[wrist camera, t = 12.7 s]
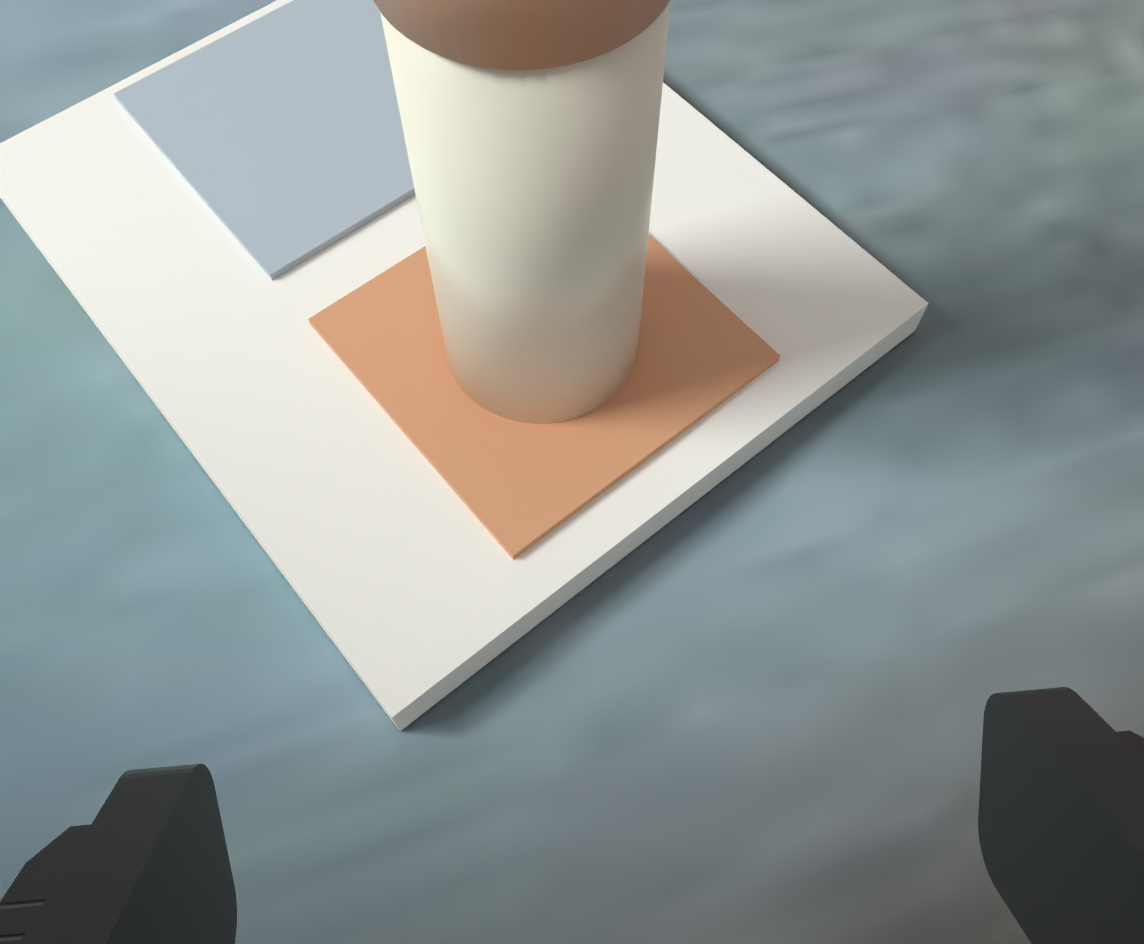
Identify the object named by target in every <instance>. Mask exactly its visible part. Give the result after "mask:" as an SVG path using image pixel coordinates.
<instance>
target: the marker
mask: <svg viewBox="0 0 1144 944" xmlns="http://www.w3.org/2000/svg"><path fill="white" fill-rule="evenodd" d="M373 1H374V3H375V4H376V6H377V7H378V9H379V11H380V13H381V19H382V24H383V29H384V34H385V39H386V44H387V50H388V55H389V60H390V65H391V70H392V76H393V81H394V86H395V91H396V96H397V101H398V107H399V112H400V117H401V122H402V127H403V132H404V138H405V143H406V148H407V153H408V158H409V164H410V169H411V174H412V179H413V184H414V189H415V195H416V200H417V205H418V210H419V215H420V221H421V226H422V231H423V236H424V241H425V246H426V252H427V257H428V262H429V267H430V272H431V277H432V283H433V288H434V293H435V298H436V303H437V309H438V314H439V319H440V324H441V329H442V334H443V340H444V345H445V350H446V355H447V360H448V364H449V367H450V369H451V372H452V374H453V376H454V378H455V380H456V381H457V383H458V385H459V386H460V387H461V388H462V390H463V391H464V392H465V393H466V394H467V395H468V396H469V397H470V398H471V399H472V400H473V401H474V402H476V403H477V404H478V405H480V406H481V407H483V408H484V409H486V410H488V411H490V412H492V413H493V414H496V415H498V416H501V417H503V418H506V419H510V420H514V421H517V422H524V423H532V424H548V423H558V422H563V421H568V420H571V419H575V418H578V417H581V416H583V415H585V414H587V413H590V412H592V411H594V410H595V409H597V408H599V407H600V406H602V405H603V404H605V403H606V402H607V401H608V400H610V399H611V398H612V397H613V396H614V395H615V394H616V393H617V392H618V391H619V390H620V389H621V388H622V386H623V385H624V383H625V382H626V380H627V379H628V377H629V375H630V373H631V371H632V369H633V366H634V363H635V360H636V356H637V350H638V341H639V330H640V320H641V309H642V298H643V288H644V277H645V266H646V256H647V245H648V235H649V224H650V213H651V203H652V192H653V182H654V171H655V160H656V150H657V139H658V128H659V118H660V107H661V97H662V86H663V75H664V65H665V54H666V44H667V33H668V22H669V12H670V1H671V0H373Z"/></svg>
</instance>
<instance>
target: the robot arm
mask: <svg viewBox="0 0 1144 944" xmlns="http://www.w3.org/2000/svg"><path fill="white" fill-rule="evenodd" d="M978 829H979V839H980V845H981V850H982V854H983V858H984V862H985V865H986V868H987V871H988V873H989V876H990V878H991V880H992V882H993V884H994V886H995V888H996V889H997V891H998V892H999V894H1000V895H1001V897H1002V899H1003V900H1004V902H1005V903H1006V905H1007V906H1008V908H1009V909H1010V911H1011V912H1012V914H1013V916H1014V917H1015V919H1016V920H1017V922H1018V923H1019V925H1020V926H1021V928H1022V930H1023V931H1024V933H1025V934H1026V936H1027V937H1028V939H1029V940H1030V942H1031V943H1032V944H1144V738H1143V737H1141V736H1139V735H1137V734H1135V733H1133V732H1131V731H1121V732H1115V731H1114V730H1113V729H1112V728H1111V727H1110V726H1109V725H1108V724H1107V723H1106V722H1105V721H1104V720H1103V719H1102V718H1101V717H1100V716H1099V715H1098V714H1097V713H1096V712H1095V711H1094V710H1093V709H1092V708H1091V707H1090V706H1089V705H1088V704H1087V703H1086V702H1085V701H1084V700H1083V699H1082V698H1081V697H1080V696H1079V695H1078V694H1077V693H1076V692H1074V691H1073V690H1072V689H1070V688H1066V687H1060V688H1049V689H1038V690H1027V691H1016V692H1005V693H996V694H993V695H991V696H990V698H989V699H988V701H987V703H986V707H985V711H984V723H983V742H982V760H981V779H980V797H979V816H978ZM236 925H237V904H236V893H235V887H234V882H233V877H232V872H231V867H230V862H229V857H228V852H227V847H226V842H225V837H224V832H223V827H222V822H221V817H220V812H219V807H218V802H217V797H216V792H215V787H214V783H213V779H212V776H211V773H210V771H209V769H208V768H207V767H206V766H205V765H204V764H192V765H181V766H170V767H160V768H149V769H138V770H129V771H126V772H125V773H124V774H123V775H122V776H121V777H120V779H119V780H118V782H117V783H116V785H115V787H114V788H113V790H112V792H111V793H110V795H109V797H108V798H107V800H106V802H105V803H104V805H103V806H102V808H101V810H100V811H99V813H98V815H97V816H96V818H95V820H94V821H93V823H92V825H81V826H71V827H69V828H68V829H67V830H66V831H64V832H63V833H62V834H61V835H60V836H58V837H57V838H56V839H55V840H53V841H52V842H51V843H50V844H49V845H47V846H46V847H45V848H44V849H42V850H41V851H40V852H39V853H38V854H36V855H35V856H34V857H33V858H32V859H30V860H29V861H28V862H27V863H26V864H25V865H24V867H23V868H22V870H21V871H20V873H19V874H18V876H17V877H16V879H15V880H14V882H13V883H12V885H11V886H10V888H9V889H8V891H7V892H6V894H5V895H4V897H3V898H2V900H1V901H0V944H235V937H236Z"/></svg>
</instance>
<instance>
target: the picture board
mask: <svg viewBox="0 0 1144 944" xmlns="http://www.w3.org/2000/svg"><path fill="white" fill-rule="evenodd" d="M0 198H1V199H2V201H3V202H4V203H5V205H6V206H7V207H8V209H9V210H10V211H11V213H12V214H13V215H14V217H15V218H16V219H17V221H18V222H19V223H20V225H21V226H22V227H23V229H24V230H25V231H26V233H27V234H28V235H29V237H30V238H31V239H32V241H33V242H34V243H35V245H36V246H37V247H38V249H39V250H40V251H41V253H42V254H43V255H44V257H45V258H46V259H47V261H48V262H49V263H50V265H51V266H52V267H53V269H54V270H55V272H56V273H57V274H58V276H59V277H60V278H61V280H62V281H63V282H64V284H65V285H66V286H67V288H68V289H69V290H70V292H71V293H72V294H73V296H74V297H75V298H76V300H77V301H78V302H79V304H80V305H81V306H82V308H83V309H84V310H85V312H86V313H87V314H88V316H89V317H90V318H91V320H92V321H93V322H94V324H95V325H96V326H97V328H98V329H99V330H100V332H101V333H102V334H103V336H104V337H105V338H106V340H107V341H108V342H109V344H110V345H111V346H112V348H113V349H114V350H115V352H116V353H117V354H118V356H119V357H120V358H121V360H122V361H123V362H124V364H125V365H126V366H127V368H128V369H129V370H130V372H131V373H132V374H133V376H134V377H135V378H136V380H137V381H138V382H139V384H140V385H141V386H142V388H143V389H144V390H145V392H146V393H147V394H148V396H149V397H150V398H151V400H152V401H153V402H154V404H155V405H156V406H157V408H158V409H159V410H160V412H161V413H162V414H163V416H164V417H165V418H166V420H167V421H168V422H169V424H170V425H171V426H172V428H173V429H174V430H175V432H176V433H177V434H178V436H179V437H180V438H181V440H182V441H183V442H184V444H185V445H186V446H187V448H188V449H189V450H190V452H191V453H192V454H193V456H194V457H195V458H196V460H197V461H198V462H199V464H200V465H201V466H202V468H203V469H204V470H205V472H206V473H207V474H208V476H209V477H210V478H211V480H212V481H213V482H214V484H215V485H216V486H217V488H218V489H219V490H220V492H221V493H222V494H223V496H224V497H225V498H226V500H227V501H228V502H229V504H230V505H231V506H232V508H233V509H234V510H235V512H236V513H237V514H238V516H239V517H240V518H241V520H242V521H243V522H244V524H245V525H246V526H247V528H248V529H249V530H250V532H251V533H252V534H253V536H254V537H255V538H256V540H257V541H258V542H259V544H260V545H261V546H262V548H263V549H264V550H265V552H266V553H267V554H268V556H269V557H270V558H271V560H272V561H273V562H274V564H275V565H276V566H277V568H278V569H279V570H280V572H281V573H282V574H283V576H284V577H285V578H286V580H287V581H288V582H289V584H290V585H291V586H292V588H293V589H294V590H295V592H296V593H297V594H298V596H299V597H300V598H301V600H302V601H303V602H304V604H305V605H306V606H307V608H308V609H309V610H310V612H311V613H312V615H313V616H314V617H315V619H316V620H317V621H318V623H319V624H320V625H321V627H322V628H323V629H324V631H325V632H326V633H327V635H328V636H329V637H330V639H331V640H332V641H333V643H334V644H335V645H336V647H337V648H338V649H339V651H340V652H341V653H342V655H343V656H344V657H345V659H346V660H347V661H348V663H349V664H350V665H351V667H352V668H353V669H354V671H355V672H356V673H357V675H358V676H359V677H360V679H361V680H362V681H363V683H364V684H365V685H366V687H367V688H368V689H369V691H370V692H371V693H372V695H373V696H374V697H375V699H376V700H377V701H378V703H379V704H380V705H381V707H382V708H383V709H384V711H385V712H386V713H387V715H388V716H389V717H390V719H391V720H392V721H393V723H394V724H395V725H396V727H397V728H398V729H399V731H401V730H403V729H404V728H405V727H407V726H408V725H409V724H410V723H412V722H413V721H414V720H416V719H417V718H418V717H419V716H421V715H422V714H423V713H425V712H426V711H427V710H428V709H430V708H431V707H432V706H433V705H435V704H436V703H437V702H439V701H440V700H441V699H442V698H444V697H445V696H446V695H448V694H449V693H450V692H451V691H453V690H454V689H455V688H457V687H458V686H459V685H460V684H462V683H463V682H464V681H466V680H467V679H468V678H469V677H471V676H472V675H473V674H475V673H476V672H477V671H478V670H480V669H481V668H482V667H484V666H485V665H486V664H487V663H489V662H490V661H491V660H493V659H494V658H495V657H496V656H498V655H499V654H500V653H502V652H503V651H504V650H505V649H507V648H508V647H509V646H511V645H512V644H513V643H514V642H516V641H517V640H518V639H520V638H521V637H522V636H523V635H525V634H526V633H527V632H529V631H530V630H531V629H532V628H534V627H535V626H536V625H538V624H539V623H540V622H541V621H543V620H544V619H545V618H547V617H548V616H549V615H550V614H552V613H553V612H554V611H556V610H557V609H558V608H559V607H561V606H562V605H563V604H565V603H566V602H567V601H568V600H570V599H571V598H572V597H574V596H575V595H576V594H577V593H579V592H580V591H581V590H583V589H584V588H585V587H586V586H588V585H589V584H590V583H592V582H593V581H594V580H595V579H597V578H598V577H599V576H601V575H602V574H603V573H604V572H606V571H607V570H608V569H610V568H611V567H612V566H613V565H615V564H616V563H617V562H619V561H620V560H621V559H622V558H624V557H625V556H626V555H628V554H629V553H630V552H631V551H633V550H634V549H635V548H637V547H638V546H639V545H640V544H642V543H643V542H644V541H645V540H647V539H648V538H649V537H651V536H652V535H653V534H654V533H656V532H657V531H658V530H660V529H661V528H662V527H663V526H665V525H666V524H667V523H669V522H670V521H671V520H672V519H674V518H675V517H676V516H678V515H679V514H680V513H681V512H683V511H684V510H685V509H687V508H688V507H689V506H690V505H692V504H693V503H694V502H696V501H697V500H698V499H699V498H701V497H702V496H703V495H705V494H706V493H707V492H708V491H710V490H711V489H712V488H714V487H715V486H716V485H717V484H719V483H720V482H721V481H723V480H724V479H725V478H726V477H728V476H729V475H730V474H732V473H733V472H734V471H735V470H737V469H738V468H739V467H741V466H742V465H743V464H744V463H746V462H747V461H748V460H750V459H751V458H752V457H753V456H755V455H756V454H757V453H759V452H760V451H761V450H762V449H764V448H765V447H766V446H768V445H769V444H770V443H771V442H773V441H774V440H775V439H777V438H778V437H779V436H780V435H782V434H783V433H784V432H786V431H787V430H788V429H789V428H791V427H792V426H793V425H795V424H796V423H797V422H798V421H800V420H801V419H802V418H804V417H805V416H806V415H807V414H809V413H810V412H811V411H813V410H814V409H815V408H816V407H818V406H819V405H820V404H822V403H823V402H824V401H825V400H827V399H828V398H829V397H831V396H832V395H833V394H834V393H836V392H837V391H838V390H840V389H841V388H842V387H843V386H845V385H846V384H847V383H849V382H850V381H851V380H852V379H854V378H855V377H856V376H857V375H859V374H860V373H861V372H863V371H864V370H865V369H866V368H868V367H869V366H870V365H872V364H873V363H874V362H875V361H877V360H878V359H879V358H881V357H882V356H883V355H884V354H886V353H887V352H888V351H890V350H891V349H892V348H893V347H895V346H896V345H897V344H899V343H900V342H901V341H902V340H904V339H905V338H906V337H908V336H909V335H910V334H911V333H913V332H914V331H915V330H916V328H917V326H918V324H919V322H920V320H921V318H922V316H923V314H924V312H925V310H926V308H927V306H928V304H929V303H928V302H926V301H925V300H924V299H923V298H922V297H920V296H919V295H918V294H917V293H916V292H914V291H913V290H912V289H911V288H910V287H908V286H907V285H906V284H905V283H904V282H902V281H901V280H900V279H899V278H898V277H896V276H895V275H894V274H893V273H892V272H890V271H889V270H888V269H887V268H886V267H884V266H883V265H882V264H881V263H880V262H878V261H877V260H876V259H875V258H874V257H872V256H871V255H870V254H869V253H868V252H866V251H865V250H864V249H863V248H862V247H860V246H859V245H858V244H857V243H856V242H854V241H853V240H852V239H851V238H850V237H848V236H847V235H846V234H845V233H844V232H842V231H841V230H840V229H839V228H838V227H836V226H835V225H834V224H833V223H832V222H830V221H829V220H828V219H827V218H826V217H824V216H823V215H822V214H821V213H820V212H818V211H817V210H816V209H815V208H814V207H812V206H811V205H810V204H809V203H808V202H806V201H805V200H804V199H803V198H802V197H800V196H799V195H798V194H797V193H796V192H794V191H793V190H792V189H791V188H790V187H788V186H787V185H786V184H785V183H784V182H782V181H781V180H780V179H779V178H777V177H776V176H775V175H774V174H773V173H771V172H770V171H769V170H768V169H767V168H765V167H764V166H763V165H762V164H761V163H759V162H758V161H757V160H756V159H755V158H753V157H752V156H751V155H750V154H749V153H747V152H746V151H745V150H744V149H743V148H741V147H740V146H739V145H738V144H737V143H735V142H734V141H733V140H732V139H731V138H729V137H728V136H727V135H726V134H725V133H723V132H722V131H721V130H720V129H719V128H717V127H716V126H715V125H714V124H713V123H711V122H710V121H709V120H708V119H707V118H705V117H704V116H703V115H702V114H701V113H699V112H698V111H697V110H696V109H695V108H693V107H692V106H691V105H690V104H689V103H687V102H686V101H685V100H684V99H683V98H681V97H680V96H679V95H678V94H677V93H675V92H674V91H673V90H672V89H671V88H669V87H668V86H667V85H666V84H665V83H663V86H662V97H661V107H660V118H659V128H658V139H657V150H656V160H655V171H654V182H653V192H652V203H651V213H650V224H649V235H648V245H647V256H646V266H645V277H644V288H643V298H642V309H641V320H640V330H639V341H638V350H637V356H636V360H635V363H634V366H633V369H632V371H631V373H630V375H629V377H628V379H627V380H626V382H625V383H624V385H623V386H622V388H621V389H620V390H619V391H618V392H617V393H616V394H615V395H614V396H613V397H612V398H611V399H610V400H608V401H607V402H606V403H605V404H603V405H602V406H600V407H599V408H597V409H595V410H594V411H592V412H590V413H587V414H585V415H583V416H581V417H578V418H575V419H571V420H568V421H563V422H558V423H548V424H532V423H524V422H517V421H514V420H510V419H506V418H503V417H501V416H498V415H496V414H493V413H492V412H490V411H488V410H486V409H484V408H483V407H481V406H480V405H478V404H477V403H476V402H474V401H473V400H472V399H471V398H470V397H469V396H468V395H467V394H466V393H465V392H464V391H463V390H462V388H461V387H460V386H459V385H458V383H457V381H456V380H455V378H454V376H453V374H452V372H451V369H450V367H449V364H448V360H447V355H446V350H445V345H444V340H443V334H442V329H441V324H440V319H439V314H438V309H437V303H436V298H435V293H434V288H433V283H432V277H431V272H430V267H429V262H428V257H427V252H426V246H425V241H424V236H423V231H422V226H421V221H420V215H419V210H418V205H417V200H416V195H415V189H414V184H413V179H412V174H411V169H410V164H409V158H408V153H407V148H406V143H405V138H404V132H403V127H402V122H401V117H400V112H399V107H398V101H397V96H396V91H395V86H394V81H393V76H392V70H391V65H390V60H389V55H388V50H387V44H386V39H385V34H384V29H383V24H382V19H381V13H380V11H379V9H378V7H377V6H376V4H375V3H374V1H373V0H277V1H275V2H273V3H271V4H269V5H267V6H265V7H263V8H261V9H260V10H258V11H256V12H254V13H252V14H250V15H248V16H246V17H244V18H242V19H240V20H238V21H236V22H234V23H232V24H230V25H229V26H227V27H225V28H223V29H221V30H219V31H217V32H215V33H213V34H211V35H209V36H207V37H205V38H203V39H201V40H200V41H198V42H196V43H194V44H192V45H190V46H188V47H186V48H184V49H182V50H180V51H178V52H176V53H174V54H172V55H170V56H169V57H167V58H165V59H163V60H161V61H159V62H157V63H155V64H153V65H151V66H149V67H147V68H145V69H143V70H141V71H140V72H138V73H136V74H134V75H132V76H130V77H128V78H126V79H124V80H122V81H120V82H118V83H116V84H114V85H112V86H110V87H109V88H107V89H105V90H103V91H101V92H99V93H97V94H95V95H93V96H91V97H89V98H87V99H85V100H83V101H81V102H79V103H78V104H76V105H74V106H72V107H70V108H68V109H66V110H64V111H62V112H60V113H58V114H56V115H54V116H52V117H50V118H49V119H47V120H45V121H43V122H41V123H39V124H37V125H35V126H33V127H31V128H29V129H27V130H25V131H23V132H21V133H19V134H18V135H16V136H14V137H12V138H10V139H8V140H6V141H4V142H2V143H0Z"/></svg>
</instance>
